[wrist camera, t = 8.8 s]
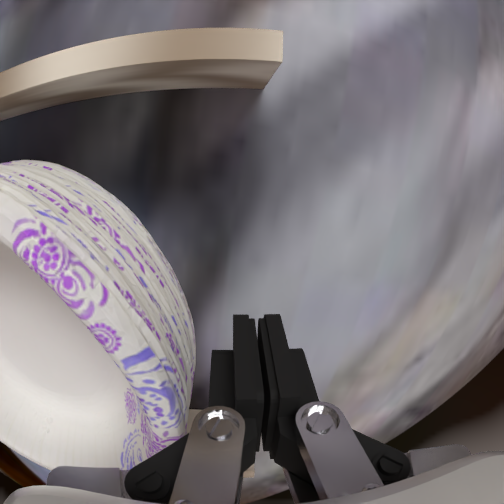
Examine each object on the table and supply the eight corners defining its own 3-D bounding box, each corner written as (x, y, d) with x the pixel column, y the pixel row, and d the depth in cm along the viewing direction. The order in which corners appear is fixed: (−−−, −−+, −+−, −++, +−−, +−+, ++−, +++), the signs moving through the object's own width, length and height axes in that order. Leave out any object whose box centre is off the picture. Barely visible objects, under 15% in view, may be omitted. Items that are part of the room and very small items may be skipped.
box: (264, 68, 11) (283, 30, 7) (248, 418, 19) (253, 477, 14) (-44, 122, 10) (-98, 131, 5) (23, 388, 17) (0, 429, 13)
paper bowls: (-44, 222, 12) (-123, 270, 5) (130, 96, 11) (22, 63, 4) (61, 397, 18) (27, 475, 10) (244, 362, 17) (253, 483, 9)
